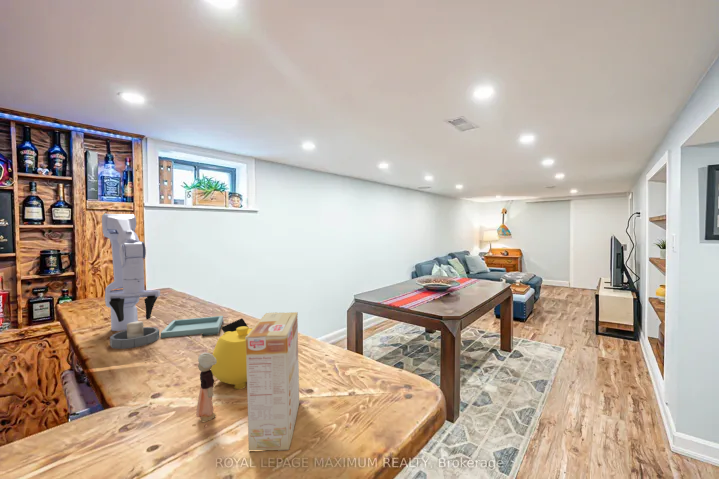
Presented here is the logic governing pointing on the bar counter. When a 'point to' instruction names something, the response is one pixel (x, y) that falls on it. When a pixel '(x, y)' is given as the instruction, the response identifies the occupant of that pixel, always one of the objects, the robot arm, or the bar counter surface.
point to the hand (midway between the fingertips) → (134, 319)
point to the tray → (193, 327)
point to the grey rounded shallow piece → (122, 342)
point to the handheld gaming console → (234, 325)
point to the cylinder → (135, 329)
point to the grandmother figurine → (206, 387)
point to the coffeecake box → (272, 381)
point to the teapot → (231, 357)
